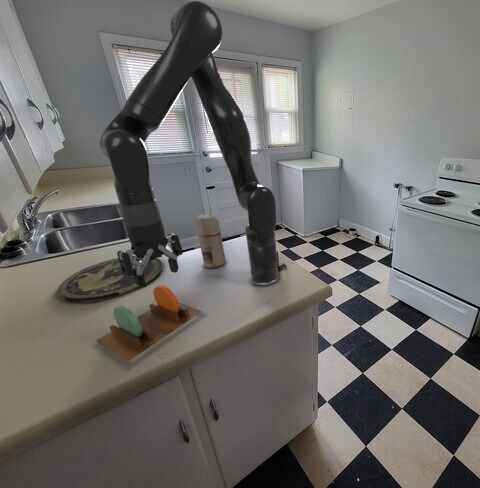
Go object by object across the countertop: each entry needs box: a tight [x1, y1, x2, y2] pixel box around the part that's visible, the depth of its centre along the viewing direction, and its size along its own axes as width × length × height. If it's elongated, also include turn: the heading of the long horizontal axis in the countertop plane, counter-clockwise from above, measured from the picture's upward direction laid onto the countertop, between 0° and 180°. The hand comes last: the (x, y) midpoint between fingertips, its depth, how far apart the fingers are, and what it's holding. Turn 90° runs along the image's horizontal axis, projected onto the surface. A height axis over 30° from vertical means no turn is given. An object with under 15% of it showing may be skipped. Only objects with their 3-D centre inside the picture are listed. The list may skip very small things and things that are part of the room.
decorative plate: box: [57, 255, 164, 304], centre depth 96 cm, size 30×2×30 cm
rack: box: [95, 300, 203, 362], centre depth 71 cm, size 20×14×4 cm
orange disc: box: [152, 284, 180, 314], centre depth 73 cm, size 1×9×9 cm, turn 63°
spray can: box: [193, 213, 227, 269], centre depth 102 cm, size 8×8×20 cm
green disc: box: [112, 304, 142, 338], centre depth 65 cm, size 1×9×9 cm, turn 63°
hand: (159, 278), depth 71 cm, fingers open, 8 cm apart
